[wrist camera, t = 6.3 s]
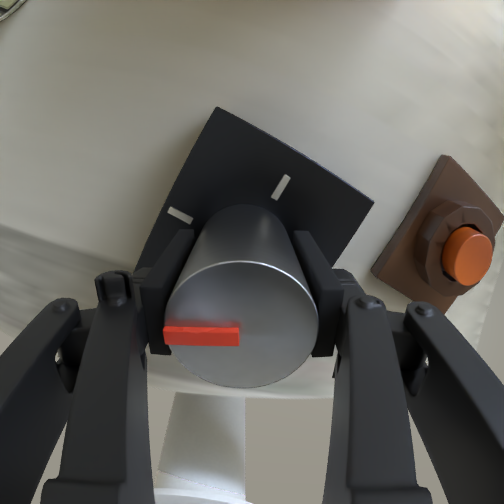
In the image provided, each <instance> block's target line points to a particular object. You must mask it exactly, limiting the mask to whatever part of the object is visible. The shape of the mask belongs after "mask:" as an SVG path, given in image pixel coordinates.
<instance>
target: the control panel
mask: <svg viewBox="0 0 504 504" xmlns="http://www.w3.org/2000/svg"><path fill="white" fill-rule="evenodd" d="M237 204H250V205H255V206H259V207H262V208H264V209H266V210H268V211H269V212H271V213H272V214H273V215H275V216H276V217H277V218H278V219H279V220H280V222H281V223H282V224H283V226H284V228H285V230H286V232H287V234H288V237H289V239H290V242H291V244H292V246H293V236H294V231H309V233H310V234H311V236H312V237H313V239H314V241H315V242H316V244H317V245H318V247H319V248H320V250H321V252H322V253H323V255H324V257H325V258H326V260H327V261H328V263H329V265H330V266H331V268H332V267H333V265H334V264H335V262H336V261H337V259H338V258H339V257H340V255H341V254H342V252H343V251H344V249H345V248H346V246H347V245H348V243H349V242H350V240H351V239H352V237H353V235H354V234H355V232H356V231H357V229H358V228H359V226H360V225H361V223H362V222H363V220H364V218H365V217H366V215H367V214H368V212H369V211H370V209H371V207H372V206H373V204H374V201H373V200H372V199H370V198H369V197H367V196H366V195H364V194H363V193H362V192H360V191H359V190H357V189H356V188H354V187H353V186H351V185H350V184H348V183H347V182H345V181H344V180H342V179H341V178H339V177H338V176H336V175H335V174H333V173H332V172H330V171H329V170H327V169H326V168H324V167H323V166H321V165H319V164H318V163H316V162H315V161H313V160H311V159H310V158H308V157H307V156H305V155H303V154H302V153H300V152H298V151H297V150H295V149H294V148H292V147H290V146H288V145H287V144H285V143H283V142H282V141H280V140H278V139H277V138H275V137H273V136H271V135H270V134H268V133H266V132H264V131H263V130H261V129H259V128H257V127H255V126H254V125H252V124H250V123H248V122H246V121H244V120H242V119H241V118H239V117H237V116H235V115H233V114H231V113H229V112H227V111H225V110H223V109H221V108H220V107H215V109H214V111H213V113H212V114H211V116H210V118H209V120H208V121H207V123H206V125H205V127H204V128H203V130H202V132H201V134H200V135H199V137H198V139H197V141H196V143H195V145H194V146H193V148H192V150H191V152H190V154H189V156H188V158H187V159H186V161H185V163H184V165H183V167H182V169H181V171H180V173H179V175H178V177H177V179H176V181H175V183H174V185H173V187H172V189H171V191H170V193H169V195H168V197H167V199H166V201H165V203H164V205H163V207H162V209H161V211H160V214H159V216H158V218H157V220H156V222H155V224H154V226H153V229H152V231H151V233H150V235H149V237H148V240H147V242H146V244H145V246H144V249H143V251H142V253H141V256H140V258H139V260H138V263H137V265H136V267H135V270H134V272H136V271H137V270H139V269H141V268H142V267H146V268H152V267H153V266H154V265H155V263H156V262H157V260H158V259H159V257H160V256H161V255H162V253H163V252H164V250H165V249H166V247H167V246H168V245H169V243H170V242H171V240H172V239H173V238H174V236H175V235H176V234H177V232H178V231H179V229H194V242H195V243H196V241H197V239H198V237H199V235H200V233H201V231H202V229H203V227H204V225H205V224H206V222H207V221H208V220H209V219H210V218H211V217H212V216H213V215H214V214H215V213H217V212H218V211H220V210H222V209H224V208H226V207H229V206H232V205H237ZM134 272H133V273H134Z"/></svg>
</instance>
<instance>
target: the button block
mask: <svg viewBox="0 0 504 504" xmlns="http://www.w3.org/2000/svg"><path fill="white" fill-rule="evenodd" d="M503 221H504V215H503V214H502V213H501V212H500V210H499V209H498V208H497V207H496V205H495V204H494V203H493V202H492V201H491V199H490V198H489V197H488V196H487V195H486V194H485V192H484V191H483V190H482V189H481V188H480V187H479V186H478V185H477V183H476V182H475V181H474V180H473V179H472V178H471V177H470V176H469V175H468V174H467V173H466V171H465V170H464V169H463V168H462V167H461V166H460V165H459V164H458V163H457V162H456V161H455V160H454V159H453V158H452V157H451V156H446V155H441V157H440V159H439V160H438V162H437V164H436V166H435V168H434V170H433V171H432V173H431V175H430V177H429V178H428V180H427V182H426V184H425V185H424V187H423V189H422V191H421V192H420V194H419V196H418V197H417V199H416V201H415V202H414V204H413V206H412V207H411V209H410V211H409V212H408V214H407V216H406V217H405V219H404V220H403V222H402V224H401V225H400V227H399V228H398V230H397V231H396V233H395V234H394V236H393V238H392V239H391V241H390V242H389V244H388V245H387V247H386V248H385V250H384V251H383V253H382V254H381V256H380V257H379V259H378V260H377V262H376V263H375V264H374V266H373V267H372V269H371V272H372V273H373V274H374V276H375V277H376V278H378V279H379V280H381V281H383V282H384V283H386V284H387V285H389V286H391V287H392V288H394V289H395V290H397V291H399V292H400V293H402V294H403V295H405V296H407V297H408V298H410V299H411V300H413V301H414V302H416V301H417V302H421V301H423V302H425V303H426V302H428V303H430V304H431V305H433V306H435V307H437V308H438V309H439V310H440V311H441V312H442V313H443V314H445V313H446V312H447V310H448V309H449V307H450V306H451V305H452V303H453V302H454V301H455V299H456V298H457V296H459V295H463V294H464V293H466V292H467V291H468V290H470V289H471V288H473V287H474V286H475V285H477V284H478V283H479V282H480V281H478V282H477V283H475V284H473V285H469V286H465V285H462V284H460V283H459V282H458V281H456V280H455V279H454V278H453V277H451V276H450V275H449V274H448V273H447V272H446V271H445V270H444V268H443V265H442V250H443V247H444V244H445V242H446V240H447V239H448V237H449V236H450V235H451V233H453V232H454V231H455V230H456V229H458V228H461V227H470V228H472V229H474V230H476V231H478V232H480V233H482V234H483V235H485V236H486V237H488V239H489V240H490V242H491V245H492V256H493V251H494V246H495V236H496V234H497V232H498V230H499V228H500V226H501V225H502V223H503Z"/></svg>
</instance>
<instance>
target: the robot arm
mask: <svg viewBox="0 0 504 504" xmlns="http://www.w3.org/2000/svg"><path fill="white" fill-rule="evenodd" d="M194 245H195V242H194V229H179V231H178V232H177V234H176V235H175V236H174V238H173V239H172V240H171V242H170V243H169V245H168V246H167V247H166V249H165V250H164V252H163V253H162V255H161V256H160V257H159V259H158V260H157V262H156V263H155V265H154V266H153V267H152V268H146V267H142V268H141V269H139V270H137V271H136V272H134V273H133V275H131V273H129V272H127V271H123V270H115V271H108V272H105V273H102V274H100V275H99V276H97V277H96V278H95V279H94V281H95V286H96V291H97V296H98V300H99V303H98V306H97V308H94V309H86V310H79V307H78V303H77V301H76V300H75V299H71V298H59V299H56V300H55V301H53V302H51V303H49V304H48V305H47V306H46V307H45V308H44V309H43V310H42V311H41V312H40V313H39V314H38V315H37V316H36V317H35V318H34V319H33V320H32V321H31V322H30V323H29V324H28V326H27V327H26V328H25V329H24V330H23V331H22V332H21V333H20V334H19V335H18V336H17V338H16V339H15V340H14V341H13V342H12V343H11V344H10V345H9V347H8V348H7V349H6V350H5V351H4V352H3V354H2V355H1V356H0V504H31V501H32V499H33V496H34V494H35V491H36V489H37V486H38V484H39V482H40V479H41V477H42V474H43V472H44V470H45V468H46V465H47V463H48V461H49V459H50V456H51V454H52V452H53V450H54V448H55V445H56V443H57V441H58V439H59V437H60V435H61V433H62V431H63V428H64V426H65V424H66V422H67V426H66V432H65V438H64V444H63V450H62V457H61V465H60V471H59V475H58V477H57V478H56V479H48V480H47V481H46V482H45V483H44V485H43V489H42V493H41V502H40V504H155V498H154V489H153V479H152V469H151V458H150V444H149V428H148V427H149V426H148V402H147V357H146V352H145V348H146V346H147V344H148V342H149V348H150V353H151V354H159V355H171V353H172V351H171V349H170V347H169V345H166V344H165V342H164V336H163V329H164V313H165V309H166V305H167V303H168V300H169V298H170V296H171V293H172V291H173V289H174V287H175V285H176V283H177V281H178V278H179V276H180V274H181V272H182V270H183V268H184V266H185V264H186V262H187V259H188V257H189V255H190V253H191V251H192V249H193V247H194ZM293 249H294V251H295V254H296V256H297V259H298V261H299V264H300V266H301V269H302V272H303V274H304V277H305V279H306V282H307V284H308V287H309V289H310V292H311V295H312V297H313V300H314V302H315V305H316V308H317V312H318V317H319V332H318V337H317V340H316V343H315V346H314V348H313V350H312V352H311V355H312V357H330V356H333V351H334V346H335V345H336V347H337V350H338V354H337V359H336V363H335V368H334V372H333V376H332V378H335V385H334V402H333V415H332V426H331V437H330V447H329V456H328V465H327V473H326V481H325V488H324V495H323V501H322V504H433V502H432V497H431V493H430V492H429V490H428V489H427V488H424V487H420V486H419V485H418V484H417V480H416V472H415V461H414V453H413V444H412V436H411V429H410V422H409V416H408V410H409V412H410V414H411V417H412V419H413V421H414V423H415V425H416V427H417V429H418V432H419V434H420V436H421V438H422V441H423V443H424V445H425V447H426V450H427V452H428V454H429V457H430V459H431V461H432V463H433V466H434V468H435V471H436V473H437V475H438V478H439V480H440V483H441V485H442V488H443V490H444V493H445V495H446V497H447V500H448V503H449V504H504V385H503V384H502V383H501V381H500V380H499V379H498V378H497V376H496V375H495V374H494V372H493V371H492V370H491V369H490V367H489V366H488V365H487V364H486V363H485V361H484V360H483V359H482V358H481V357H480V355H479V354H478V353H477V352H476V351H475V349H474V348H473V347H472V346H471V345H470V344H469V342H468V341H467V340H466V339H465V338H464V337H463V335H462V334H461V333H460V332H459V331H458V330H457V329H456V327H455V326H454V325H453V324H452V323H451V322H450V321H449V320H448V319H447V317H446V316H445V315H444V314H443V313H442V312H441V311H440V310H439V309H438V308H437V307H435V306H433V305H431V304H430V303H428V302H426V303H425V302H423V301H421V302H417V301H416V302H411V303H410V304H408V305H407V309H406V312H405V313H399V312H391V311H387V310H386V307H385V304H384V303H383V301H381V300H380V299H378V298H376V297H373V296H370V295H366V294H365V292H364V291H363V289H362V288H361V286H360V285H359V284H358V282H357V281H356V279H355V278H354V277H353V275H352V274H351V273H349V272H348V271H346V270H345V269H332V268H331V266H330V265H329V263H328V261H327V260H326V258H325V257H324V255H323V253H322V252H321V250H320V248H319V247H318V245H317V244H316V242H315V241H314V239H313V237H312V236H311V234H310V233H309V231H294V236H293ZM57 352H58V355H59V357H60V358H59V360H58V361H57V362H56V361H55V355H56V353H57ZM426 358H428V362H429V363H428V366H427V364H426V363H425V361H426ZM407 408H408V409H407ZM67 420H68V421H67Z"/></svg>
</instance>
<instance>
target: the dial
mask: <svg viewBox="0 0 504 504" xmlns="http://www.w3.org/2000/svg"><path fill="white" fill-rule="evenodd" d="M318 332H319V317H318V312H317V308H316V305H315V302H314V300H313V297H312V295H311V292H310V289H309V287H308V284H307V282H306V279H305V277H304V274H303V272H302V269H301V266H300V264H299V261H298V259H297V256H296V254H295V251H294V249H293V246H292V244H291V242H290V239H289V237H288V234H287V232H286V230H285V228H284V226H283V224H282V223H281V222H280V220H279V219H278V218H277V217H276V216H275V215H273V214H272V213H271V212H269V211H268V210H266V209H264V208H262V207H259V206H255V205H250V204H237V205H232V206H229V207H226V208H224V209H222V210H220V211H218V212H217V213H215V214H214V215H213V216H212V217H211V218H210V219H209V220H208V221H207V222H206V224H205V225H204V227H203V229H202V231H201V233H200V235H199V237H198V239H197V241H196V243H195V245H194V247H193V249H192V251H191V253H190V255H189V257H188V259H187V262H186V264H185V266H184V268H183V270H182V272H181V274H180V276H179V278H178V281H177V283H176V285H175V287H174V289H173V291H172V293H171V296H170V298H169V300H168V303H167V305H166V309H165V313H164V329H163V336H164V342H165V344H166V345H169V347H170V349H171V351H172V352H173V354H174V356H175V357H176V358H177V359H178V361H179V362H180V363H181V364H182V365H183V366H184V367H185V368H186V369H188V370H189V371H190V372H191V373H193V374H195V375H196V376H198V377H199V378H201V379H204V380H206V381H208V382H211V383H213V384H216V385H220V386H224V387H231V388H254V387H261V386H265V385H268V384H271V383H274V382H277V381H279V380H281V379H283V378H285V377H287V376H288V375H290V374H291V373H293V372H294V371H295V370H297V369H298V368H299V367H300V366H301V365H302V364H303V363H304V362H305V361H306V359H307V358H308V357H309V355H310V354H311V352H312V350H313V348H314V346H315V343H316V340H317V337H318Z"/></svg>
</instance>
